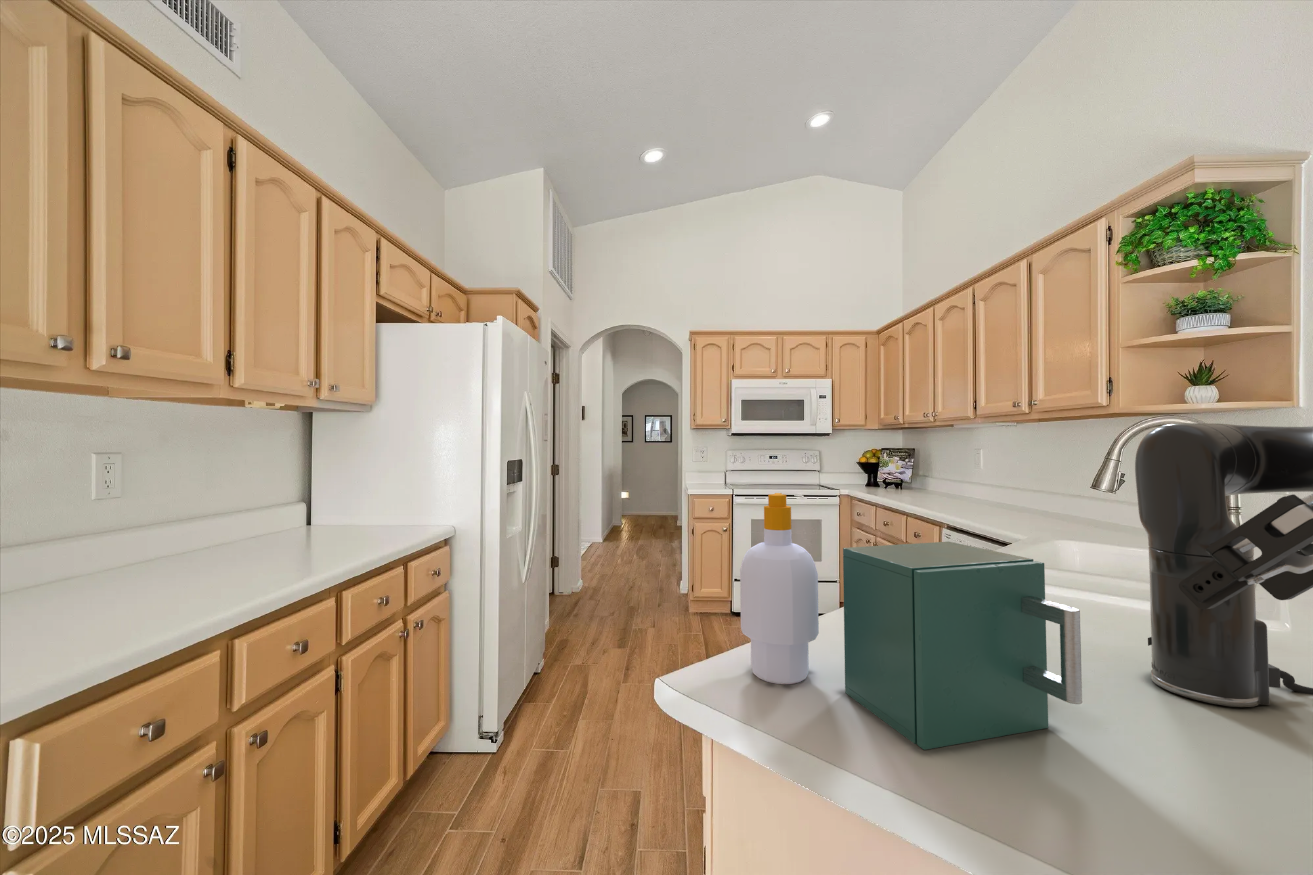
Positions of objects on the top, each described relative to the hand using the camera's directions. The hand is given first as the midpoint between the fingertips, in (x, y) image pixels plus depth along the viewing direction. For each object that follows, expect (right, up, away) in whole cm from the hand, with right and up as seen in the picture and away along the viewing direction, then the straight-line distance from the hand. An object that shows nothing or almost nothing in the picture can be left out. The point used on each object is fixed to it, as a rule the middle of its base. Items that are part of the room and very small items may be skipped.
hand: (1231, 593), depth 41 cm
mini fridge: (-11, -20, +22) cm, 31 cm away
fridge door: (-9, -19, +13) cm, 25 cm away
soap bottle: (-27, -20, +31) cm, 46 cm away
